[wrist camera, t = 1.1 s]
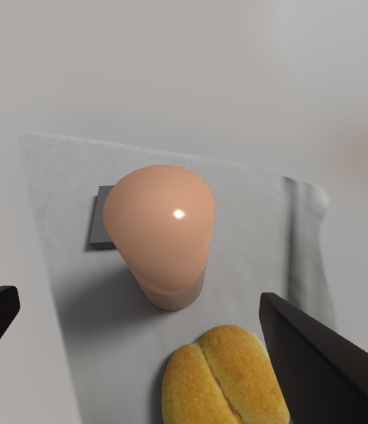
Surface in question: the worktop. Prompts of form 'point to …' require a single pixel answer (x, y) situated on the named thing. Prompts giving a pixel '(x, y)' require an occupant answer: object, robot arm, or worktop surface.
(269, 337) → the robot arm
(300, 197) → the worktop surface
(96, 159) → the worktop surface
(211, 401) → the bread roll
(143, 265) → the peach cylinder
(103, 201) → the plate
